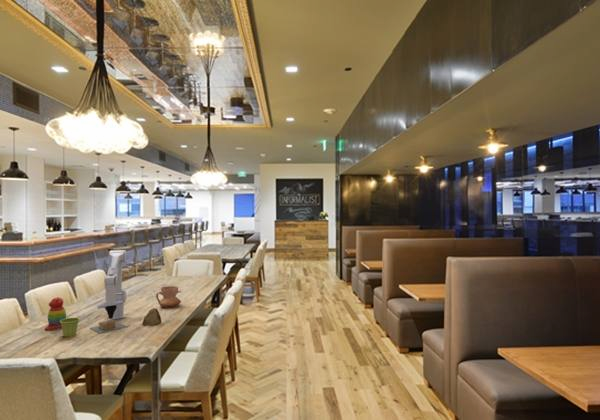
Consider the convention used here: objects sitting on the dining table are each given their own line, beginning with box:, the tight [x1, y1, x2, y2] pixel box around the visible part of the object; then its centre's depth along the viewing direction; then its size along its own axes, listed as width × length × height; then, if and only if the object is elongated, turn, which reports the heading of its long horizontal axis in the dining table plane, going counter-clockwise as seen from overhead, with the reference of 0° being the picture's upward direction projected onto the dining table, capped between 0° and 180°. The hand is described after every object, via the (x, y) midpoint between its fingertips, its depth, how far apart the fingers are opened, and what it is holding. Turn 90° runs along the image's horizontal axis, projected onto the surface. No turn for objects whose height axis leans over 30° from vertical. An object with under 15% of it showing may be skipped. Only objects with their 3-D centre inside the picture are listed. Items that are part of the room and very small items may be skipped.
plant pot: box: [60, 317, 81, 338], centre depth 208 cm, size 9×9×9 cm
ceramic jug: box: [155, 285, 182, 309], centre depth 272 cm, size 18×14×14 cm
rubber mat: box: [89, 321, 129, 334], centre depth 222 cm, size 14×16×1 cm
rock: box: [142, 307, 162, 326], centre depth 231 cm, size 11×9×10 cm
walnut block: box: [98, 319, 116, 330], centre depth 221 cm, size 6×4×7 cm
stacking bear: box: [44, 296, 67, 332], centre depth 223 cm, size 11×10×18 cm
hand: (110, 318), depth 223 cm, fingers closed
